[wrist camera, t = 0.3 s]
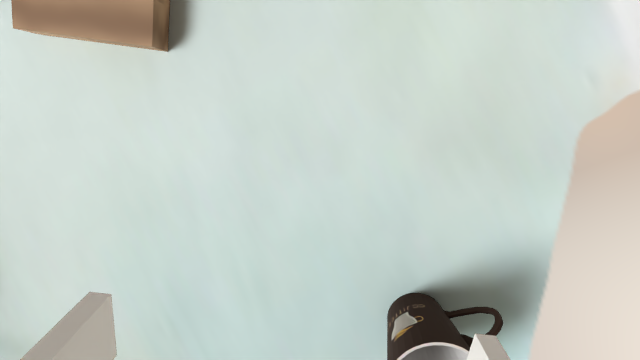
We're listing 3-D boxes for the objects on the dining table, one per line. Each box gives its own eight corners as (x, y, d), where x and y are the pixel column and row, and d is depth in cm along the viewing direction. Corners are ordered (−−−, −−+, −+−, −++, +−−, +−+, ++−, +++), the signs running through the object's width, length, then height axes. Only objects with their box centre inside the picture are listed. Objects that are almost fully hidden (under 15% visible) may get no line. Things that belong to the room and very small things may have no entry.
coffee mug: (387, 356, 42) (399, 433, 32) (369, 292, 40) (377, 352, 30) (486, 337, 40) (531, 412, 30) (472, 270, 39) (514, 326, 29)
